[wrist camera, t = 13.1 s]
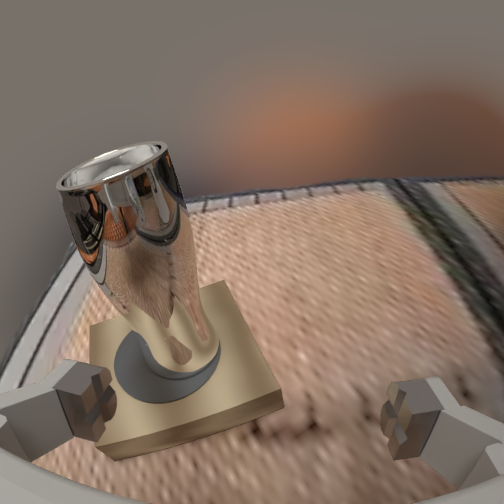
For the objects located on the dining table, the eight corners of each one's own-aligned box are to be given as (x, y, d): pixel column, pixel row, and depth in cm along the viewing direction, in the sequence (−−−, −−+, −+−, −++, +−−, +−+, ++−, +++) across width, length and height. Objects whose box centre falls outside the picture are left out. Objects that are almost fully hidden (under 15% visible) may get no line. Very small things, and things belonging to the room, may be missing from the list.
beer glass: (137, 330, 26) (66, 166, 18) (213, 306, 28) (166, 132, 19) (144, 395, 21) (37, 205, 12) (236, 367, 22) (177, 157, 14)
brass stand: (230, 302, 32) (223, 277, 31) (284, 407, 22) (280, 386, 20) (103, 345, 30) (88, 323, 28) (114, 460, 19) (92, 445, 17)
